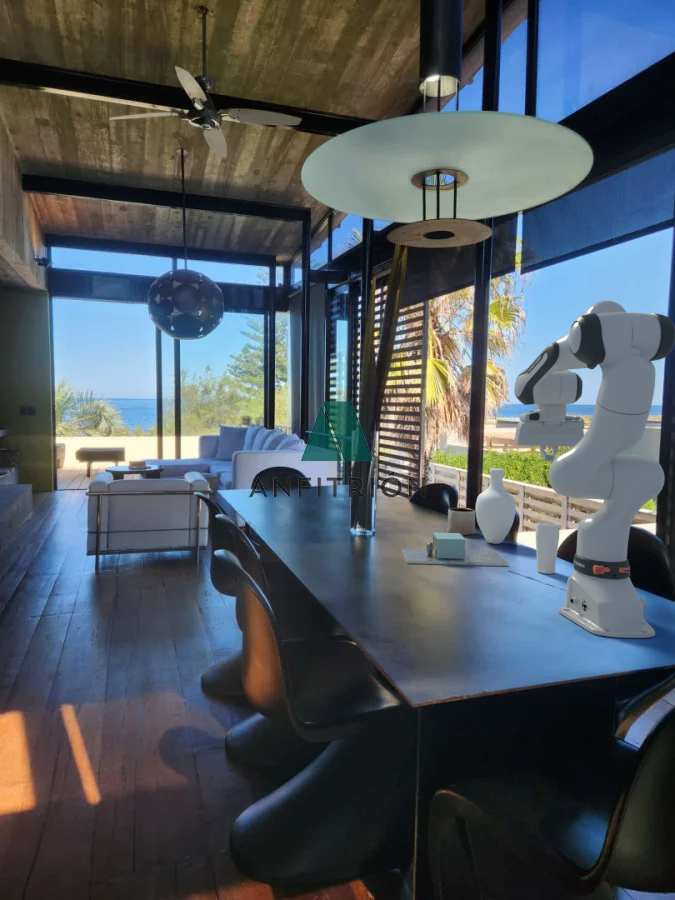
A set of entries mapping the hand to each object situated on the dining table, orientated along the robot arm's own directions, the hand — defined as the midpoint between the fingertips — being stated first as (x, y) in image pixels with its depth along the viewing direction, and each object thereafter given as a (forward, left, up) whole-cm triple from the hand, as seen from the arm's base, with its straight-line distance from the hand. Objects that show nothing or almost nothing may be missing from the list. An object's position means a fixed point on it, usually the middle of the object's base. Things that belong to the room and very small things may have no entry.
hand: (548, 460), depth 180 cm
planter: (+56, +15, -34) cm, 67 cm away
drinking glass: (-2, 0, -34) cm, 34 cm away
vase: (+38, +6, -34) cm, 52 cm away
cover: (+12, +27, -33) cm, 44 cm away
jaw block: (+12, +30, -33) cm, 46 cm away
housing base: (+12, +26, -34) cm, 45 cm away
